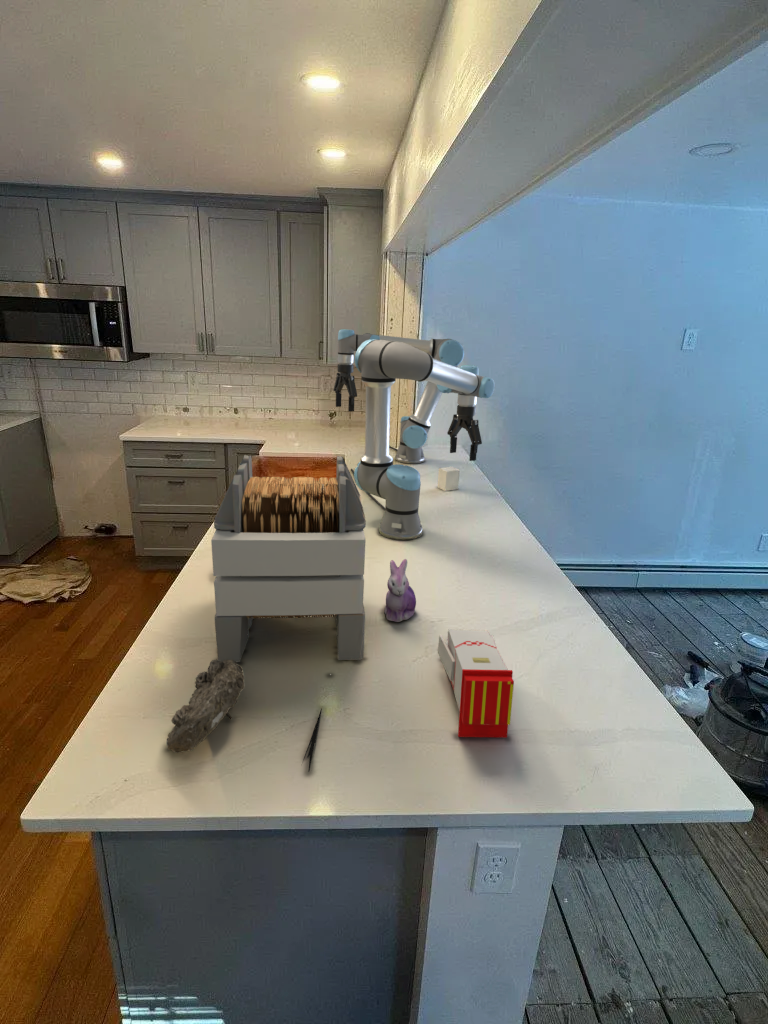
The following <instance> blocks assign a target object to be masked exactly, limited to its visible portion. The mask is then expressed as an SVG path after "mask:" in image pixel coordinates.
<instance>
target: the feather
mask: <svg viewBox="0 0 768 1024" xmlns="http://www.w3.org/2000/svg"><path fill="white" fill-rule="evenodd" d="M329 675H330V676H331V675H332V674H331V673H330V674H329ZM322 710H323V707H321V708H320V710H319V713H318V716H317V719H316V723H315V725H314V728H313V731H312V733H311V737H310V739H309V742H308V745H307V748H306V751H305V754H304V757H303V760H302V763H301V767H302V765H303V763H304V761H305V758H308V759H309V760H308V762H307V763H308V764H307V766H308V771H310V770H311V766H312V765H311V764H312V760H313V757H315V756H314V755H315V751H316V749H315V746H317V739H318V733H319V729H320V722H321V717H322V712H323V711H322ZM313 754H314V755H313ZM306 755H307V757H306Z"/></svg>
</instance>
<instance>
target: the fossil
mask: <svg viewBox="0 0 768 1024" xmlns="http://www.w3.org/2000/svg"><path fill="white" fill-rule="evenodd" d="M217 660H218V659H217ZM217 660H216V659H212V660H211V661H210V663H209V665H208V666H207V671H201V672H199V673H198V674H197V675H196V676H195V680H194V684H195V685H194V687H195V689H194V690H193V693H192V694H191V697H190V698H189V700H188V704H184V705H182V706H181V707H180V709H177V710H176V711H175V713H174V715H173V716H172V718H171V723H172V724H173V727H172V730H171V731H170V732H168V734H167V738H166V741H167V742H166V745H167V749H168V750H169V751H173V752H174V753H176V754H178V753H182V752H188V751H189V752H192V751H193V750H195V748H196V747H197V746H199V744H200V743H201V742H203V741H204V740H205V739H206V738H207V737H208V736H209V735H210V734H211V733H212V732H214V730H215V729H217V727H218V726H219V724H220V722H221V721H222V720H223V719H224V718H225V716H226V717H227V719H229V720H233V717H232V715H230V714H229V710H230V709H231V708H234V706H235V704H236V703H237V702H238V699H239V697H240V695H241V693H242V691H243V690H245V689H244V688H245V675H244V671H243V670H244V669H243V667H242V665H240V664H237V662H235V661H234V660H232V659H231V660H228V659H227V660H224V661H223V662H222V661H217Z"/></svg>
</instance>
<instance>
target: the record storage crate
mask: <svg viewBox="0 0 768 1024" xmlns="http://www.w3.org/2000/svg"><path fill="white" fill-rule="evenodd" d="M252 461H253V460H252V455H246V454H244V455H243V457H242V460H241V461H240V463H239V465H238V467H237V469H236V471H235V474H234V475H233V477H232V479H231V481H230V483H229V485H228V488H227V491H226V492H225V495H224V497H223V499H222V501H221V504H220V506H219V508H218V510H217V513H216V515H215V517H214V519H213V520H214V521H213V528H214V529H215V530H214V533H213V535H212V537H211V540H210V543H211V558H212V572H213V573H212V575H213V577H215V578H214V581H213V588H214V589H213V591H214V605H215V614H214V630H215V632H214V633H215V644H216V653H217V659H215V660H217V661H222V662H223V661H224V660H227V659H228V660H231V659H232V660H234V661H235V662H236V663H241V660H242V657H243V655H244V652H245V649H246V647H247V644H248V641H249V639H250V634H249V633H250V631H249V629H251V628H252V624H253V619H292V618H293V619H294V618H295V619H300V618H302V619H305V618H306V619H307V618H335V627H336V648H337V649H336V651H337V660H338V661H347V660H348V661H349V660H351V661H352V660H354V661H361V660H362V659H364V657H365V629H366V627H365V626H366V625H365V624H366V613H365V606H364V594H365V593H364V591H365V578H364V575H365V562H366V561H365V559H366V535H365V531H364V529H365V528H366V517H365V512H364V507H363V506H364V505H363V503H362V499H361V494H360V492H359V489H358V486H357V485H356V482H355V480H354V479H353V478H354V477H353V476H352V474H351V472H350V470H349V468H348V465H347V463H346V461H345V459H344V456H340V455H336V471H335V472H336V475H335V476H336V477H329V478H328V477H326V476H325V477H319V478H315V477H313V476H310V477H309V476H293V477H291V478H290V477H289V478H288V476H287V477H285V476H281V477H280V476H262V477H259V476H253V462H252Z"/></svg>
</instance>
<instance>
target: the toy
mask: <svg viewBox="0 0 768 1024" xmlns="http://www.w3.org/2000/svg"><path fill="white" fill-rule="evenodd" d="M446 640H447V643H446V641H445V639H444V636H443V635H442V634H439V637H438V646H437V656H438V657H439V659H440V661H441V663H442V666H443V668H444V670H445V672H446V674H447V677H448V679H449V681H450V684H451V687H452V690H453V693H454V697H455V701H456V705H457V708H458V711H459V714H458V715H459V716H458V730H457V731H458V732H457V737H458V738H508V731H509V726H510V725H511V717H512V707H513V697H514V696H513V695H514V684H515V680H514V679H513V673H514V671H513V670H512V669H508V667H507V665H506V662H505V661H504V659H503V658H502V655H501V653H500V651H499V649H498V647H497V643H496V639H495V637H494V635H493V634H491V632H490V631H489V629H467V628H466V629H465V628H463V629H461V628H460V629H459V628H448V630H447V639H446Z"/></svg>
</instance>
